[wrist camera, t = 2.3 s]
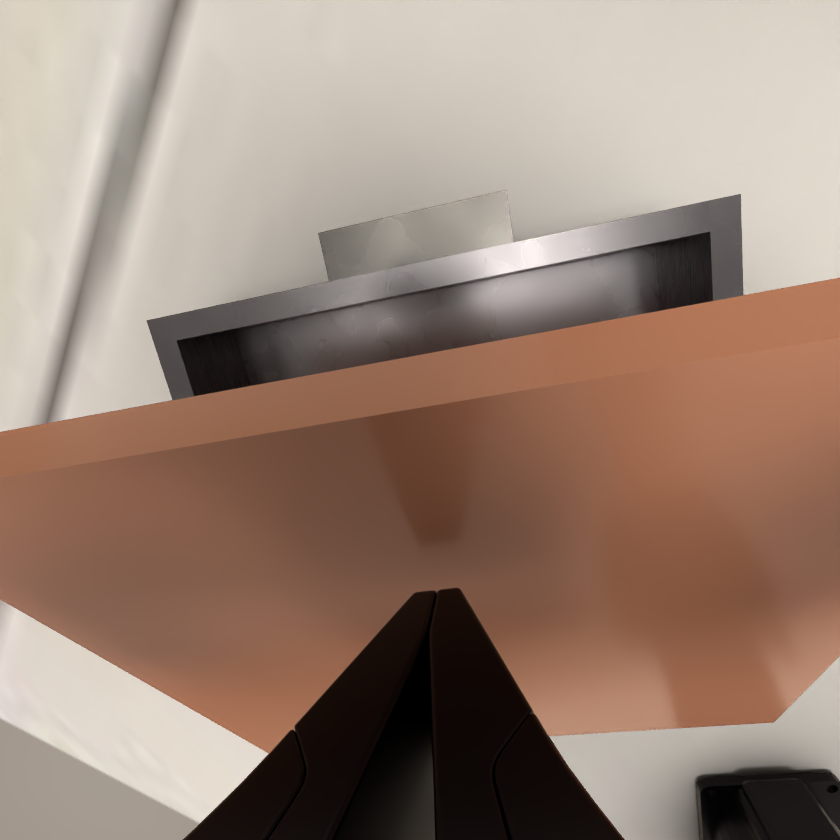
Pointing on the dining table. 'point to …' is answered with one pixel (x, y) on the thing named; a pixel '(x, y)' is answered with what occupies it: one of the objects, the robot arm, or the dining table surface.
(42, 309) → the dining table surface
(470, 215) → the dark grey flat box
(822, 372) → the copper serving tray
